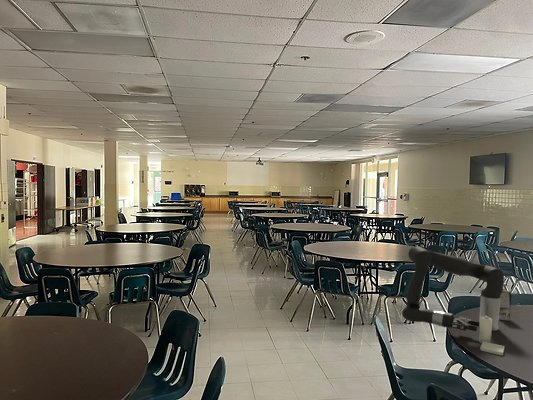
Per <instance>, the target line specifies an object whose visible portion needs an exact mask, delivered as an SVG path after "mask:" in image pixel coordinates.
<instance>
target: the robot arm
mask: <svg viewBox="0 0 533 400" xmlns="http://www.w3.org/2000/svg"><path fill="white" fill-rule="evenodd" d="M407 254H408V255H407V256H408V259H409V260H410V261H411V262H412V263H414V273H413V276H412V278H411V279H410V281H409V283H408V286H407V290H406V295H405V296H406V297H405V299H406V305H405V307H404V308H403V310H402V311H401V315H402V317H403V318H404V319H405V320H407V321H410V322H414V323H427V324H430V325H434V326H438V327H442V328H447V329H450V330H451V329H455V330H460V331H464V332H465V331H472V332H477V331H478V327H479V328H480V319H481V317H484V316H488V317H489V318H491V319H492V331H493V332H494V331H495V332H497V331H498V330H499V323H500V320H499V311H500V296H501V294H502V291H503V289H504V282H505V281H504V280H505V275H504V271H502V269H500V268H497V267H494V266H491V265H486V264H485V265H484V264H480V263H479V264H478V263H474V262H471V261H469V260H467V259H465V258H461V257H458V256H454V255H449V254H444V253H440V252H436V251H432V250H431V249H430V250H429V249H427V248H424V247H422V246H414V247H411V248H410V249H409V250H408V252H407ZM430 266H432V267H435V268H437V269H439V270H442V271H444V272H446V273H449V274H453V275H456V276H462V277H473V278H474V279H478V280H481V281H482V282H484V283H486V286H485V288H483V289H481V291H480V303H479V306H480V307H479V316H478V317H479V320H478V321H476V320H472V319H471V317H466V316H457V317H455V314H454V313H451V312H446V311H442V310H433V309H428V308H423V309H420V300H421V296H422V290H423V286H424V282H425V278H426V276H427V273H428V271H429V267H430ZM492 331H491V332H492Z"/></svg>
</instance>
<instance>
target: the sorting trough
mask: <svg viewBox="0 0 533 400" xmlns="http://www.w3.org/2000/svg"><path fill="white" fill-rule="evenodd" d="M505 347H506V346H505V345H502V344H501V345H500V344H496V343H492V342H491V343H488V342H484V341H483V342H482V343H481V345H480V349H479V350H480V352H485V353H489V354H494V355H497V356H504V353H505Z"/></svg>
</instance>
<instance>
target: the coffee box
mask: <svg viewBox="0 0 533 400" xmlns="http://www.w3.org/2000/svg"><path fill="white" fill-rule="evenodd" d="M512 295H513V294H512V292H510V291H509V290H507V289H506V288H505V289H504V288H503V291H502V294H501V296H500V311H499V321H500V320H501V321H510V320H511V319H510V318H511V308H512V307H511V305H512Z"/></svg>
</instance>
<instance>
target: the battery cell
mask: <svg viewBox="0 0 533 400" xmlns="http://www.w3.org/2000/svg"><path fill="white" fill-rule="evenodd" d="M478 335H479V337H478V342H479V344H482V342H483V341H484V342H488V343H492V319H491V318H489V317H488V316H484V317H481V319H480V327H479V334H478Z"/></svg>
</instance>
